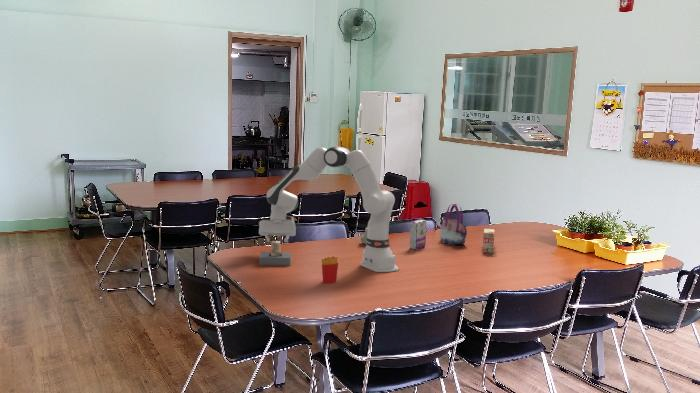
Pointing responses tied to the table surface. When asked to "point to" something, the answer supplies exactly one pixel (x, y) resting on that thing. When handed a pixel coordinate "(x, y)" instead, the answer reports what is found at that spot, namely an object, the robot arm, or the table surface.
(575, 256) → the table surface
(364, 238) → the air freshener
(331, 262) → the french fries
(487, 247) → the beige snack box
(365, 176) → the robot arm
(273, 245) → the tan tall block
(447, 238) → the handbag
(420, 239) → the candy bar box
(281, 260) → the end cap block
